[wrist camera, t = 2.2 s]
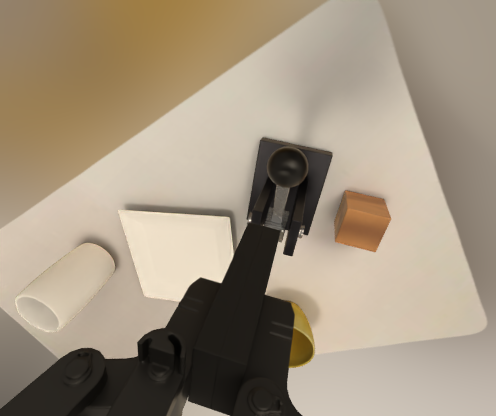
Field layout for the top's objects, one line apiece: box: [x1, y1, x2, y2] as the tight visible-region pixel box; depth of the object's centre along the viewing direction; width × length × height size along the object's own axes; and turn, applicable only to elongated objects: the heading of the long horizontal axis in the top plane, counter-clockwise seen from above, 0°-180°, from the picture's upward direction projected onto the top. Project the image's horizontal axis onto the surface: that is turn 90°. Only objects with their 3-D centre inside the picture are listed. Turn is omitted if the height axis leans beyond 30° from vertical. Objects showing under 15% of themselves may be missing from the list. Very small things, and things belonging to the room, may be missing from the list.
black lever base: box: [247, 138, 332, 256], centre depth 35 cm, size 12×9×12 cm
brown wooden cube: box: [334, 191, 391, 252], centre depth 37 cm, size 5×5×5 cm
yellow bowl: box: [288, 301, 315, 368], centre depth 48 cm, size 10×10×7 cm
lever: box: [264, 146, 308, 242], centre depth 27 cm, size 13×3×3 cm, turn 172°
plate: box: [118, 210, 234, 302], centre depth 50 cm, size 19×19×2 cm
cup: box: [15, 243, 115, 332], centre depth 50 cm, size 8×8×14 cm
